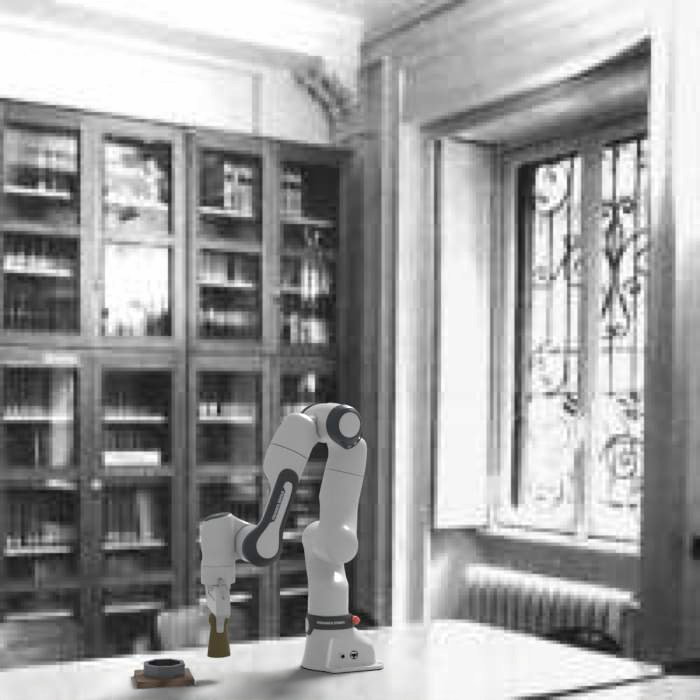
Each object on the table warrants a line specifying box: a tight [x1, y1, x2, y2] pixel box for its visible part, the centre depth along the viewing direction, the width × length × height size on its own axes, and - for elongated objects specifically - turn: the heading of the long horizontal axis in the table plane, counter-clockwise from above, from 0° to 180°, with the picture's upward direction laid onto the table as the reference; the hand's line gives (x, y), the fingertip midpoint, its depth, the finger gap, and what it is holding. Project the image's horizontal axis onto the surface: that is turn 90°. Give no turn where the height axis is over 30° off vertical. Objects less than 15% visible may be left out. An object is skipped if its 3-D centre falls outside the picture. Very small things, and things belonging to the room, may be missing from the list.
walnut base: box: [133, 667, 195, 689], centre depth 277 cm, size 14×14×2 cm
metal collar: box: [142, 657, 186, 679], centre depth 278 cm, size 10×10×3 cm
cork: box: [206, 612, 232, 659], centre depth 282 cm, size 6×6×11 cm
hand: (218, 630), depth 282 cm, fingers closed on cork, 4 cm apart
